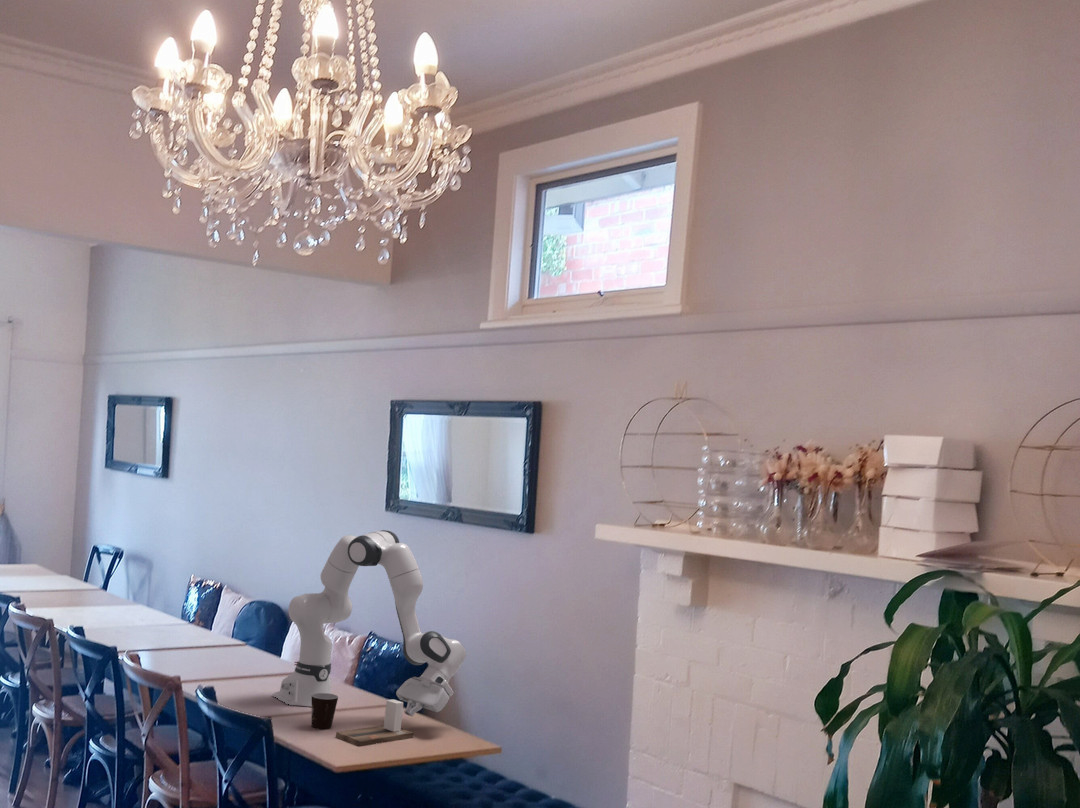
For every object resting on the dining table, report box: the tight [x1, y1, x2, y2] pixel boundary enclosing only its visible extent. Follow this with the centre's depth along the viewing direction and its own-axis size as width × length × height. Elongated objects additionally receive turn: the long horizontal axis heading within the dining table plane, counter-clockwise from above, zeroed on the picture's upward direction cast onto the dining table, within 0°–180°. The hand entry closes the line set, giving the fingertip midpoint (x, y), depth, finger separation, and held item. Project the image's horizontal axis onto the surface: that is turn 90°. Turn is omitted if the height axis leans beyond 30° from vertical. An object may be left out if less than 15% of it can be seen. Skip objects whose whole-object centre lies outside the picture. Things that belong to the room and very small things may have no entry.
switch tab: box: [383, 698, 404, 732], centre depth 330 cm, size 5×3×9 cm, turn 49°
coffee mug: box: [311, 693, 339, 731], centre depth 330 cm, size 12×9×10 cm
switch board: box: [335, 724, 414, 747], centre depth 325 cm, size 12×22×2 cm, turn 139°
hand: (407, 714), depth 335 cm, fingers closed
